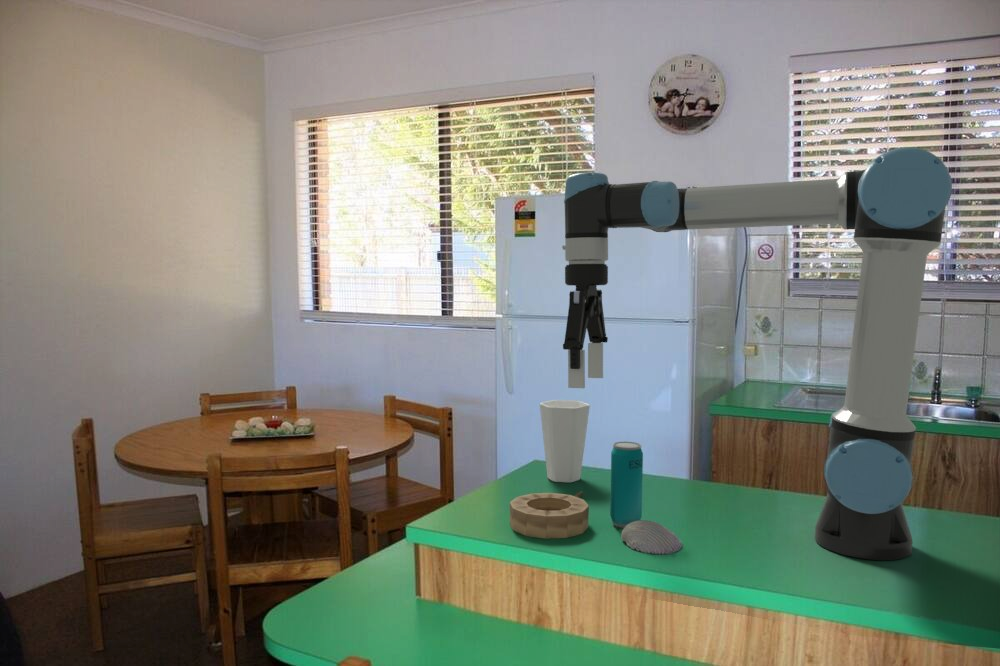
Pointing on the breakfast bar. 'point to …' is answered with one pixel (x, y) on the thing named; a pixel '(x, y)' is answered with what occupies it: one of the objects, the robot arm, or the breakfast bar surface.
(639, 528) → the seashell
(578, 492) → the brown stick
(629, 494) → the beverage can
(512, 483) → the breakfast bar surface
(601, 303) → the robot arm
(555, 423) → the cup
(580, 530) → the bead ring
